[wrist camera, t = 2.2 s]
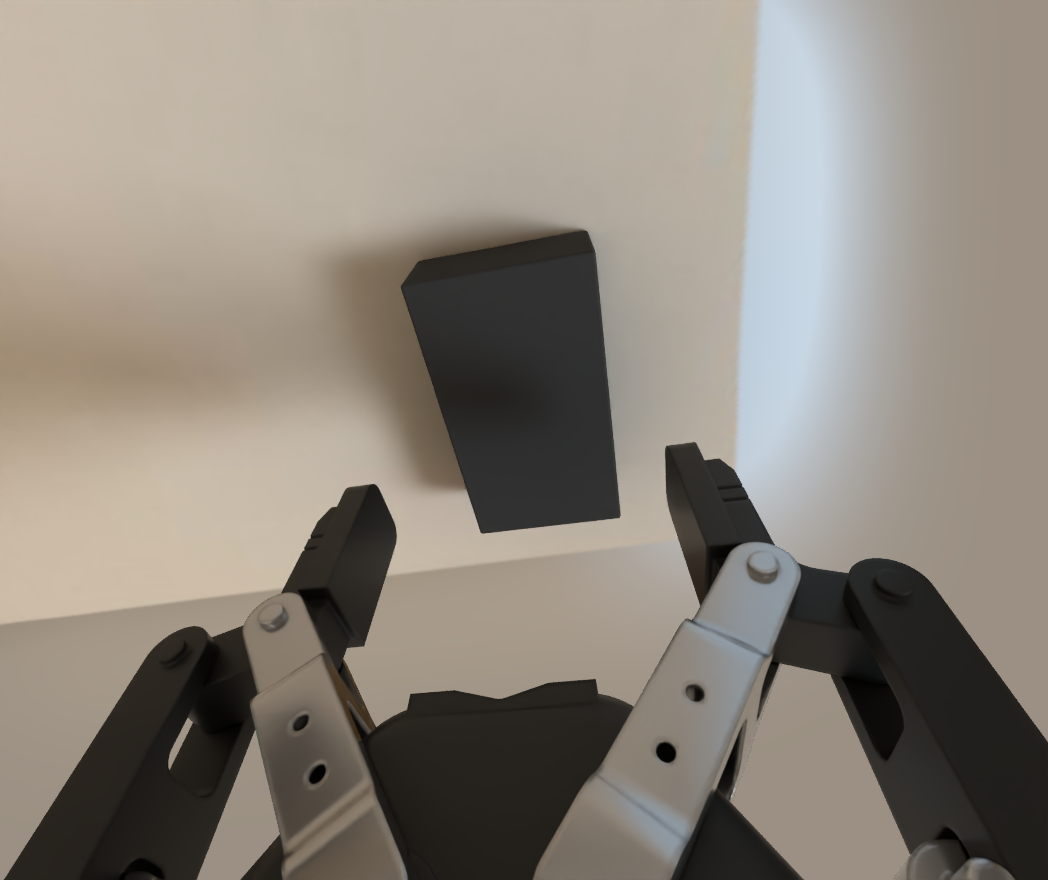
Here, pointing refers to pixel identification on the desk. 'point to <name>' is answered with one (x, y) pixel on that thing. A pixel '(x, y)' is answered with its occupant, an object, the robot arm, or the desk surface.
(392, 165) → the desk surface
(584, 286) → the black pad
